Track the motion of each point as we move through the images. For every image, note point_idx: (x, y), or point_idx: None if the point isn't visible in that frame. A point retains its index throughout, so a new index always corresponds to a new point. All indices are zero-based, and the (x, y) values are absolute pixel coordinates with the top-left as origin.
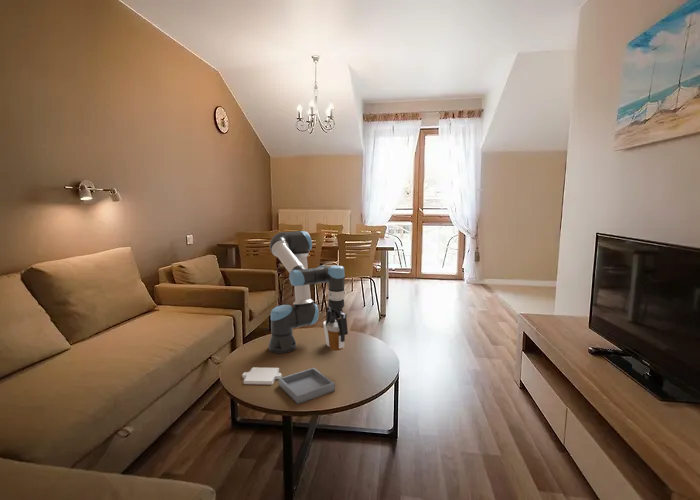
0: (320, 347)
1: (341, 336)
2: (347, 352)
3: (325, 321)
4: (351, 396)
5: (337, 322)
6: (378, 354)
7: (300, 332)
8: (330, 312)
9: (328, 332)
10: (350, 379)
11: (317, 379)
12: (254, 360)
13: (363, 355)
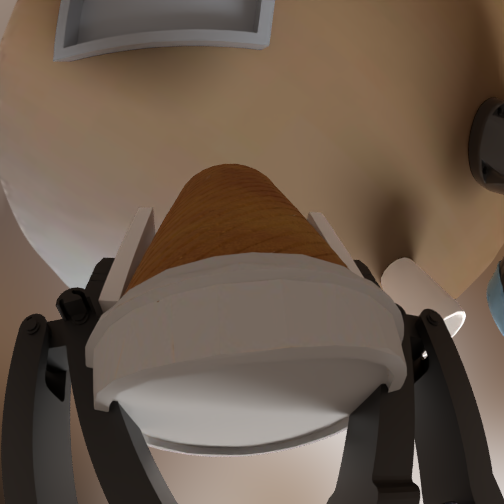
0: (416, 233)
1: (94, 301)
2: None
3: (461, 322)
4: (14, 107)
5: (142, 489)
6: None
7: (491, 246)
8: (442, 495)
9: (277, 233)
10: (109, 163)
11: (188, 25)
12: (487, 26)
13: None
